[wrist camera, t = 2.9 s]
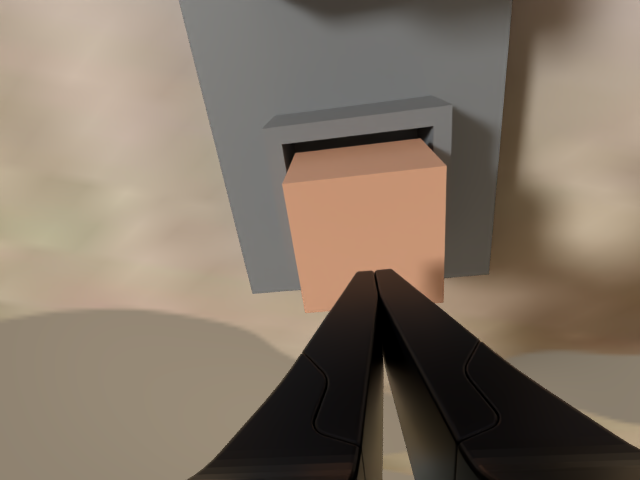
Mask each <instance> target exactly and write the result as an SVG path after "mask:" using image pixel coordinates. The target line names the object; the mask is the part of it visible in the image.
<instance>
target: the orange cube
mask: <svg viewBox="0 0 640 480" xmlns="http://www.w3.org/2000/svg"><path fill="white" fill-rule="evenodd" d="M446 172H447V166H446V165H445V164H444V163H443V161H442V160H441V159H440V158H439V157H438V156H437V155H436V154H435V153H434V152H433V151H432V150H431V149H430V148H429V147H428V146H427V145H426V144H425V142H424V141H423V140H422V139H421V138H418V139H410V140H401V141H393V142H384V143H376V144H368V145H359V146H351V147H342V148H334V149H325V150H317V151H308V152H300V153H295V155H294V157H293V160H292V162H291V164H290V167H289V169H288V171H287V174H286V176H285V178H284V181H283V183H282V187H283V192H284V198H285V203H286V209H287V214H288V220H289V225H290V231H291V236H292V242H293V248H294V253H295V259H296V264H297V270H298V275H299V281H300V286H301V292H302V297H303V303H304V308H305V313H310V312H324V311H330V310H331V309H332V307H333V306H334V304H335V303H336V302H337V300H338V299H339V297H340V296H341V294H342V293H343V291H344V290H345V288H346V287H347V285H348V284H349V282H350V281H351V279H352V278H353V276H354V275H355V273H356V272H358V271H369V270H372V271H373V272H374V273H375V271H376V270H380V269H393V270H394V271H395V272H396V273H398V274H399V275H400V276H401V277H403V278H404V279H405V280H406V281H407V282H409V283H410V284H411V285H412V286H414V287H415V288H416V289H417V290H419V291H420V292H421V293H422V294H424V295H425V296H426V297H427V298H428V299H430V300H431V301H432V302H433V303H442V302H443V300H444V257H445V215H446Z"/></svg>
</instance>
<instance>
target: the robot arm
mask: <svg viewBox="0 0 640 480" xmlns="http://www.w3.org/2000/svg"><path fill="white" fill-rule="evenodd" d="M383 358H384V364H385V368H386V372H387V376H388V380H389V384H390V387H391V391H392V395H393V398H394V403H395V406H396V410H397V414H398V417H399V422H400V425H401V429H402V433H403V437H404V441H405V444H406V448H407V452H408V456H409V460H410V463H411V467H412V471H413V475H414V479H415V480H640V449H638V448H637V447H635V446H633V445H631V444H629V443H628V442H626V441H624V440H623V439H621V438H620V437H618V436H616V435H615V434H613V433H612V432H610V431H609V430H607V429H606V428H604V427H603V426H601V425H600V424H598V423H597V422H595V421H594V420H592V419H591V418H589V417H588V416H586V415H585V414H583V413H581V412H580V411H578V410H577V409H575V408H574V407H572V406H571V405H569V404H568V403H566V402H565V401H563V400H562V399H560V398H559V397H557V396H556V395H554V394H553V393H551V392H550V391H548V390H547V389H545V388H543V387H542V386H541V385H539V384H538V383H536V382H535V381H533V380H532V379H531V378H529V377H528V376H526V375H525V374H523V373H522V372H521V371H519V370H518V369H516V368H515V367H514V366H512V365H511V364H510V363H508V362H507V361H506V360H504V359H503V358H502V357H501V356H499V355H498V354H497V353H495V352H494V351H493V350H492V349H490V348H489V347H488V346H487V345H485V344H484V343H483V342H480V340H479V339H478V338H477V337H475V336H474V335H473V334H472V333H470V332H469V331H468V330H467V329H465V328H464V327H463V326H462V325H461V324H459V323H458V322H457V321H456V320H454V319H453V318H452V317H451V316H449V315H448V314H447V313H446V312H444V311H443V310H442V309H441V308H440V307H438V306H437V305H436V304H435V303H433V302H432V301H431V300H430V299H428V298H427V297H426V296H425V295H424V294H422V293H421V292H420V291H419V290H417V289H416V288H415V287H414V286H412V285H411V284H410V283H409V282H407V281H406V280H405V279H404V278H403V277H401V276H400V275H399V274H398V273H396V272H395V271H394V270H393V269H380V270H376V271H375V273H374V272H373V271H372V270H369V271H358V272H356V273H355V275H354V276H353V278H352V279H351V281H350V282H349V284H348V285H347V287H346V288H345V290H344V291H343V293H342V294H341V296H340V297H339V299H338V300H337V302H336V303H335V304H334V306H333V307H332V309H331V310H330V312H329V313H328V315H327V316H326V318H325V319H324V321H323V322H322V324H321V325H320V327H319V328H318V330H317V331H316V333H315V334H314V335H313V337H312V338H311V340H310V341H309V343H308V344H307V346H306V347H305V349H304V350H303V352H302V354H300V356H299V357H298V359H297V360H296V362H295V363H294V365H293V366H292V368H291V369H290V370H289V372H288V373H287V375H286V376H285V377H284V378H283V380H282V381H281V383H280V384H279V385H278V386H277V387H276V389H275V390H274V391H273V392H272V393H271V395H270V396H269V397H268V398H267V399H266V401H265V402H264V403H263V404H262V405H261V406H260V408H259V409H258V410H257V411H256V412H255V413H254V414H253V416H251V418H250V419H249V420H248V421H247V422H246V423H245V424H244V426H243V427H242V428H241V429H240V430H239V431H238V432H237V434H236V435H235V436H234V437H233V438H232V439H231V440H230V441H229V443H228V444H227V445H226V446H225V447H224V448H223V449H222V451H221V452H220V453H219V454H218V455H217V456H216V457H215V458H214V459H213V460H212V461H211V462H210V463H209V464H208V465H206V466H205V467H204V468H203V469H202V470H200V471H199V472H198V473H197V474H195V475H194V476H192V477H190V478H189V479H187V480H382V466H383V379H384V369H383Z"/></svg>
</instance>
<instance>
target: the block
mask: <svg viewBox="0 0 640 480" xmlns="http://www.w3.org/2000/svg"><path fill="white" fill-rule="evenodd" d="M179 3H180V7H181V11H182V15H183V19H184V23H185V27H186V31H187V35H188V39H189V43H190V47H191V51H192V55H193V59H194V63H195V67H196V71H197V75H198V79H199V83H200V87H201V91H202V95H203V99H204V103H205V106H206V110H207V114H208V118H209V122H210V126H211V130H212V134H213V138H214V142H215V146H216V150H217V154H218V158H219V162H220V166H221V170H222V174H223V178H224V182H225V186H226V190H227V194H228V198H229V202H230V206H231V210H232V214H233V218H234V222H235V226H236V230H237V234H238V238H239V242H240V246H241V250H242V254H243V258H244V262H245V266H246V270H247V274H248V278H249V281H250V285H251V289H252V293H253V294H256V293H268V292H280V291H292V290H301V286H300V281H299V275H298V270H297V264H296V259H295V253H294V248H293V242H292V236H291V231H290V225H289V220H288V214H287V209H286V203H285V198H284V192H283V187H282V183H283V181H284V178H285V176H286V174H287V171H288V169H289V167H290V164H291V162H292V160H293V157H294V155H295V153H300V152H308V151H317V150H325V149H334V148H342V147H351V146H359V145H368V144H376V143H384V142H393V141H401V140H410V139H418V138H421V139H422V140H423V141H424V142H425V144H426V145H427V146H428V147H429V148H430V149H431V150H432V151H433V152H434V153H435V154H436V155H437V156H438V157H439V158H440V159H441V160H442V161H443V163H444V164H445V165H446V166H447V172H446V215H445V257H444V278H451V277H463V276H475V275H487V274H489V266H490V255H491V243H492V232H493V220H494V208H495V197H496V185H497V174H498V162H499V150H500V139H501V127H502V115H503V104H504V92H505V81H506V69H507V57H508V46H509V34H510V22H511V11H512V0H179Z"/></svg>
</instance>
